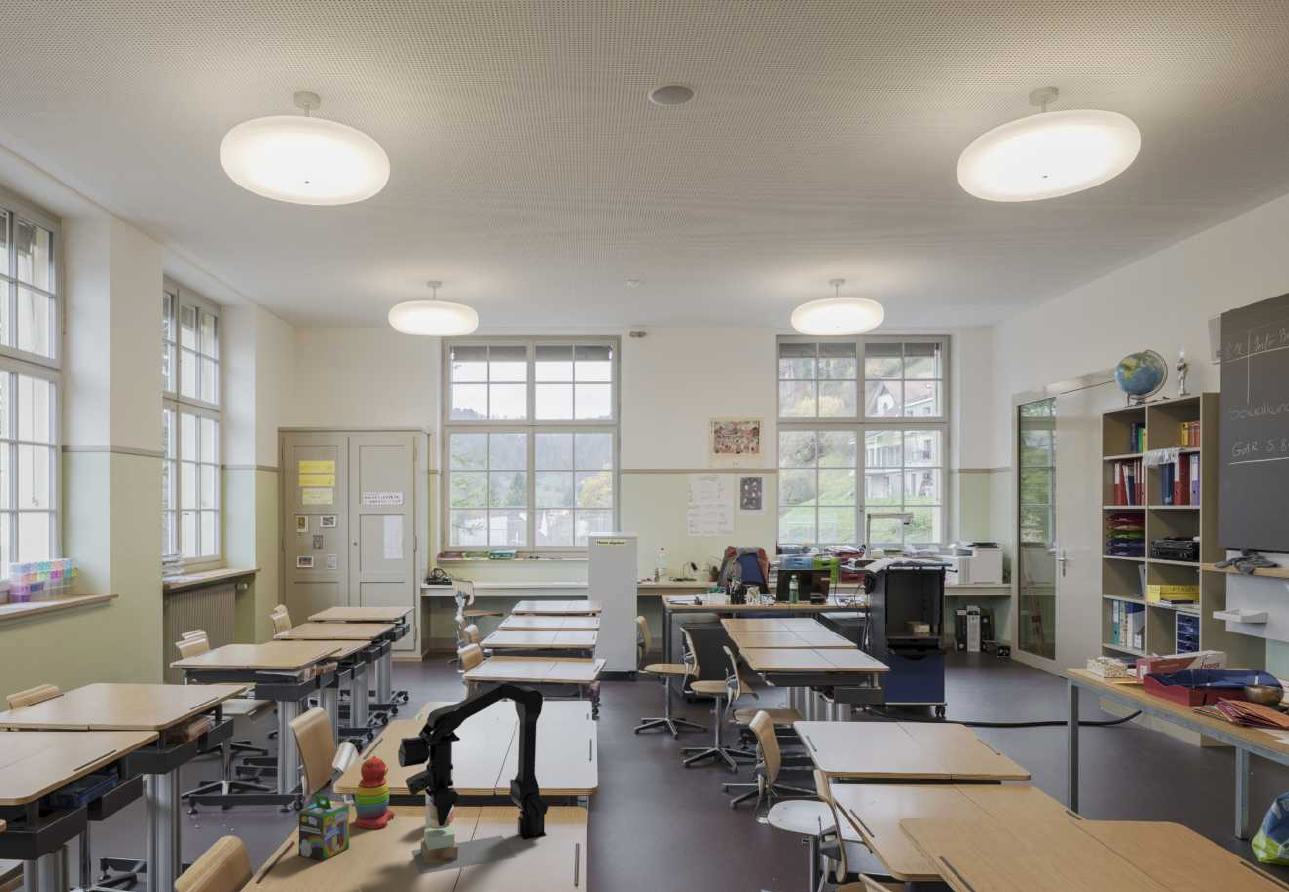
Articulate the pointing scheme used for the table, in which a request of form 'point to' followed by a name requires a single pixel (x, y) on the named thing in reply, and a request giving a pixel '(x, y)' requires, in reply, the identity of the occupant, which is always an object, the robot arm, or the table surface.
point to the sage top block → (438, 838)
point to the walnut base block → (438, 853)
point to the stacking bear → (373, 796)
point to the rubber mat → (469, 854)
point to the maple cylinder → (436, 819)
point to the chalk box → (323, 829)
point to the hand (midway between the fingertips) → (439, 822)
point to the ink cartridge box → (431, 803)
